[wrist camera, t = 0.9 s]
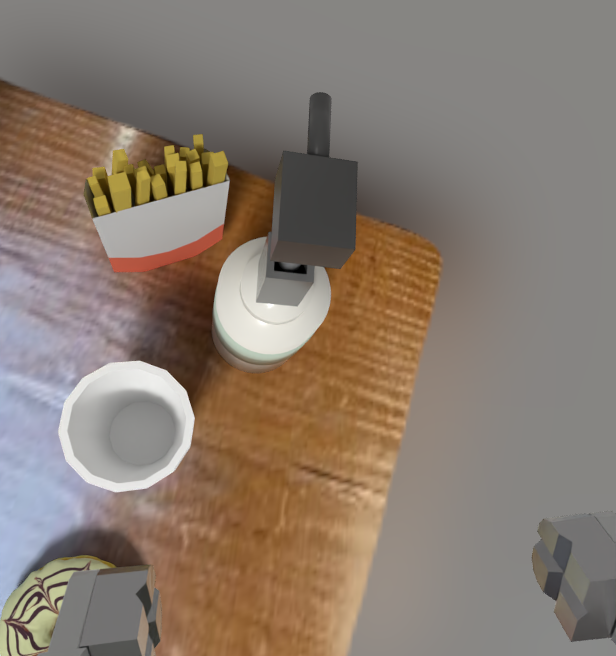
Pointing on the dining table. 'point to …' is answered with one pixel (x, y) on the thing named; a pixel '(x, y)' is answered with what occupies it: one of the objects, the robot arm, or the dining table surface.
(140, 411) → the foam cup
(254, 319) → the syrup bottle
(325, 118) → the pump head
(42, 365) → the dining table surface
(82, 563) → the decorated donut
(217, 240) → the french fries container
